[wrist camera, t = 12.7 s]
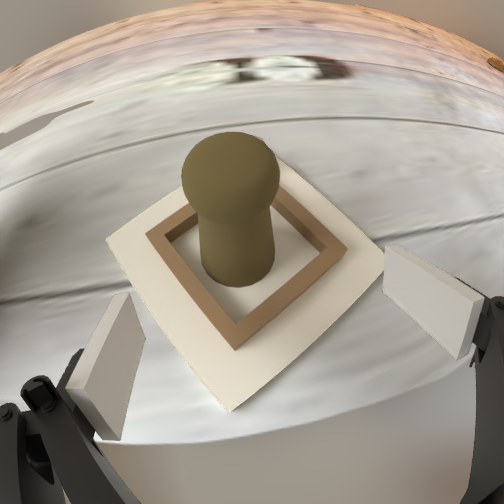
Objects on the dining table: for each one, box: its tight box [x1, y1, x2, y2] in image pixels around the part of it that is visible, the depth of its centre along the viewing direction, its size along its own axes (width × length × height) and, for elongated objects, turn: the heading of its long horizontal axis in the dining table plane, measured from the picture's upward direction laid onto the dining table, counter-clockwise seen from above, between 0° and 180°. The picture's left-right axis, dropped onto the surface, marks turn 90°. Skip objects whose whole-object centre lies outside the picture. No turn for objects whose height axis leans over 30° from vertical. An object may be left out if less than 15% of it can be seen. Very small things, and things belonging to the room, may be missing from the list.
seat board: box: [105, 136, 385, 413], centre depth 23 cm, size 18×18×4 cm
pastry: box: [488, 57, 504, 72], centre depth 57 cm, size 9×7×4 cm
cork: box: [181, 132, 280, 288], centre depth 18 cm, size 6×6×11 cm
